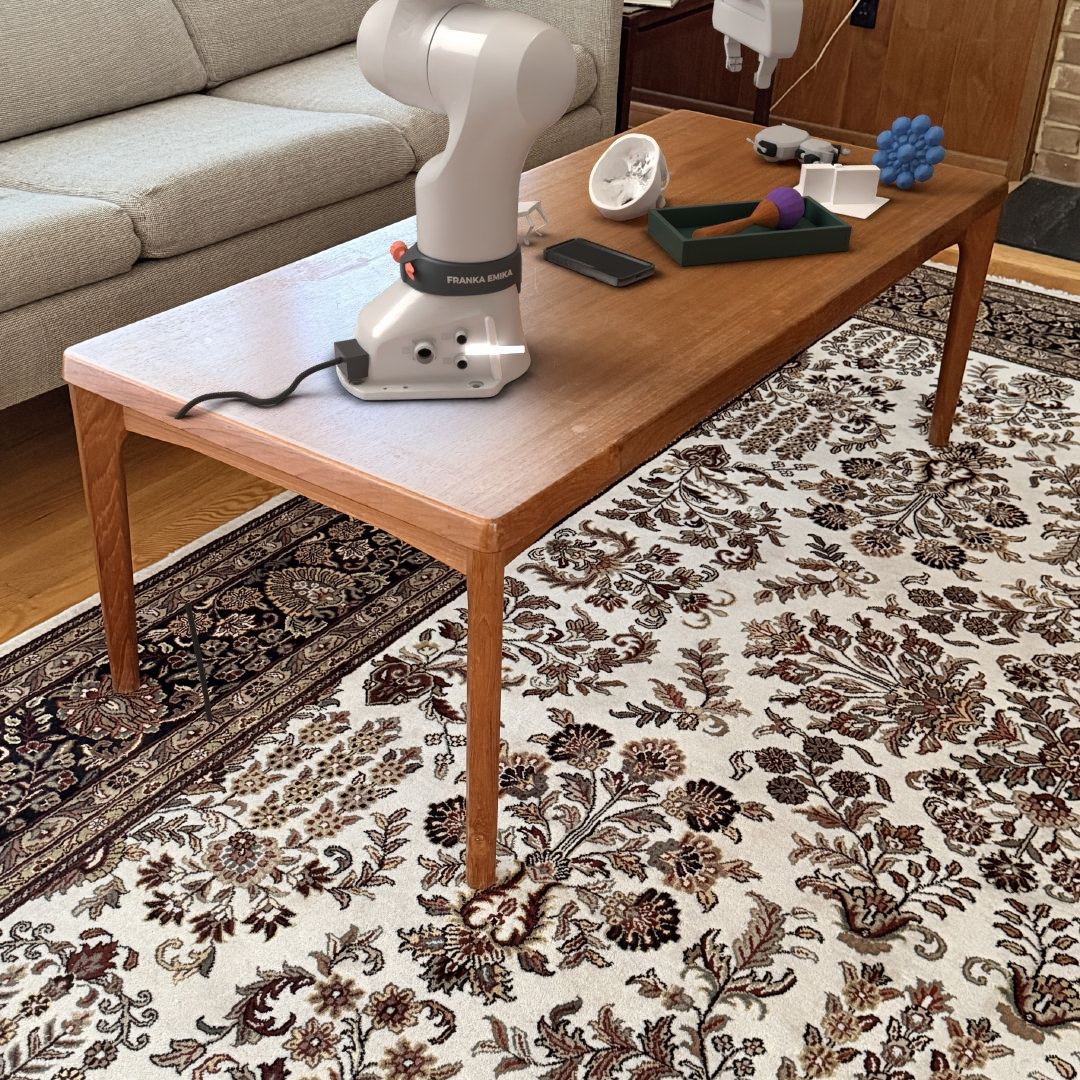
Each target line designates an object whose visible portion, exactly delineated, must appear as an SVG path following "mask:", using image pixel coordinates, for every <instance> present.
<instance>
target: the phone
mask: <svg viewBox="0 0 1080 1080" xmlns="http://www.w3.org/2000/svg"><path fill="white" fill-rule="evenodd" d="M542 252H543V253H542V258H543V259H544V260H546V261H549V262H551V263H553V264H556V265H558V266H561V267H564V268H567V269H568V270H572V271H574V272H576V273H579V274H582V275H585V276H587V277H590V278H593V279H596V280H598V281H600V282H603V283H605V284H608V285H610V286H613V287H619V288H621V287H626V286H629V285H631V284H634V283H636V282H638V281H641V280H644V279H645V278H646V279H647V278H649V277H651V276H654V275H655V272H656V264H655V263H654V262H650V261H648V260H645V259H642V258H639V257H637V256H634V255H631V254H628V253H625V252H622V251H619V250H617V249H614V248H612V247H609V246H606V245H603V244H601V243H597V242H595V241H592V240H589V239H586V238H583V237H573V238H570V239H566V240H564V241H560V242H558V243H555V244H552V245H550V246H547V247H544V248H543V249H542Z"/></svg>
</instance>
